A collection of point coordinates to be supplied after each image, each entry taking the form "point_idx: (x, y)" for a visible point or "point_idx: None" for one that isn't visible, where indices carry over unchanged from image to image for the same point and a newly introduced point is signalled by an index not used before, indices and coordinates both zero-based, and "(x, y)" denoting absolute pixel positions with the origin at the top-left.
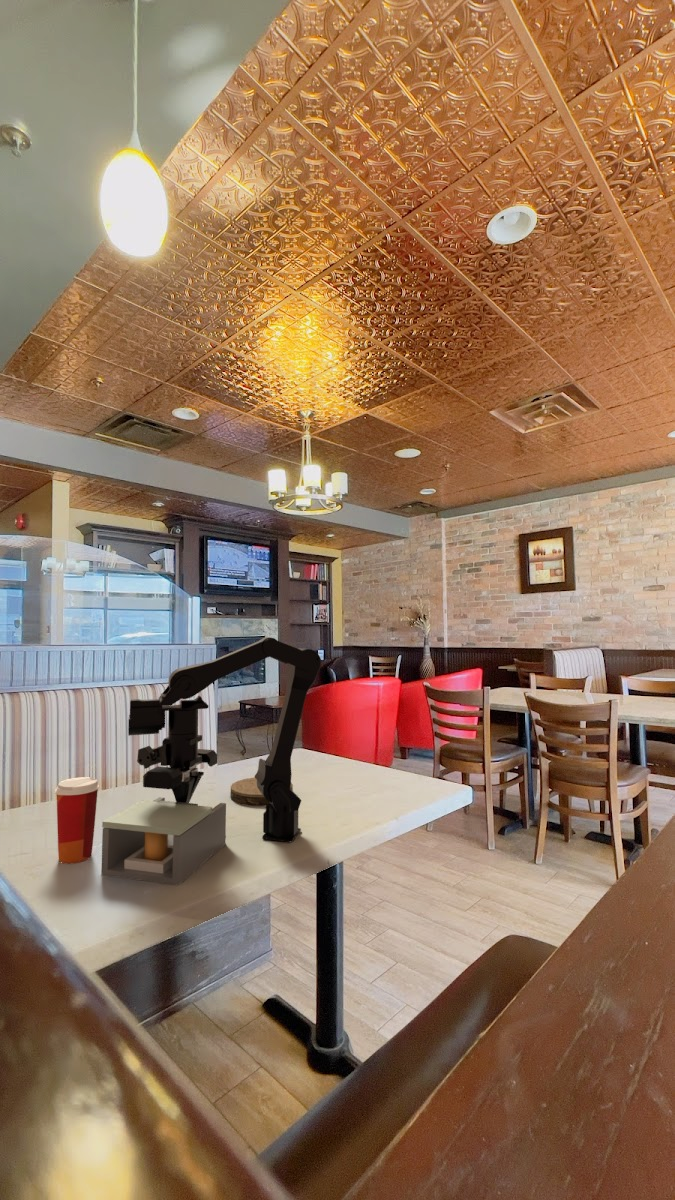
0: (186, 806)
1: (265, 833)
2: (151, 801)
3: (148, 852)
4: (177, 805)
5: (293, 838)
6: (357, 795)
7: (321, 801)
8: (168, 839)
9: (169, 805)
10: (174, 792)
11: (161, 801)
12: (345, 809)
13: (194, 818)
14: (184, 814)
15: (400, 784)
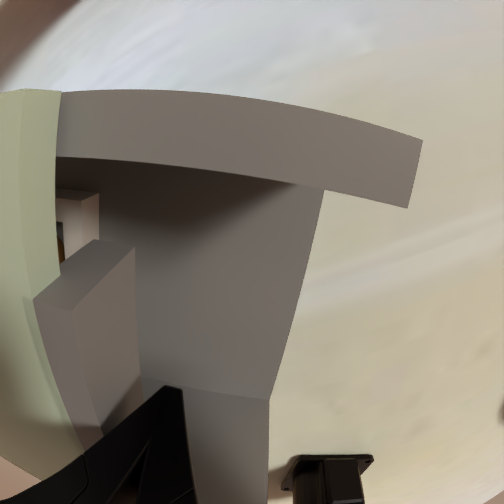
0: (68, 461)
1: (319, 462)
2: (16, 219)
3: None
4: (52, 431)
5: (291, 490)
6: (489, 474)
7: (492, 453)
8: (234, 223)
9: (26, 393)
10: (59, 479)
11: (55, 324)
12: (438, 488)
13: (6, 458)
14: (3, 441)
15: (498, 485)
